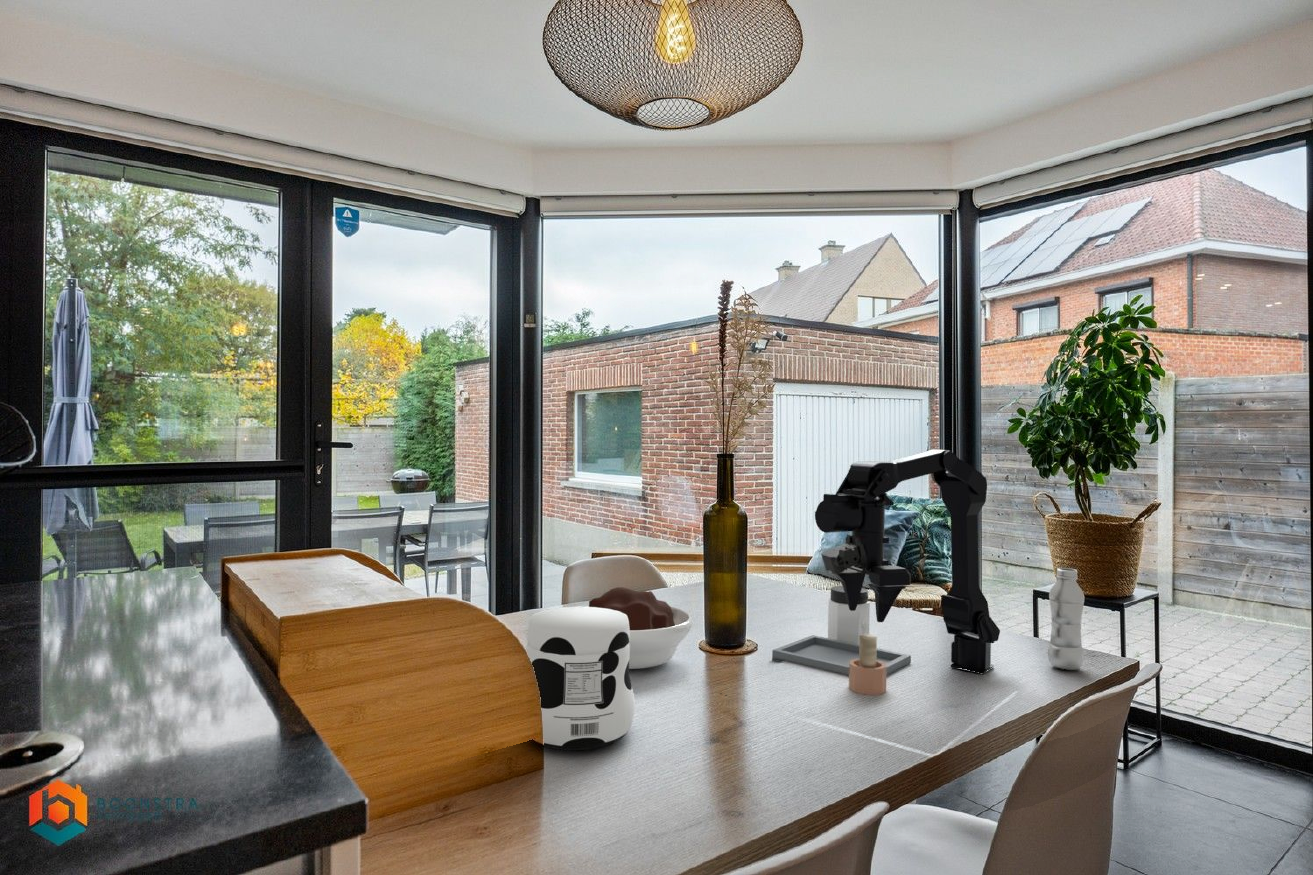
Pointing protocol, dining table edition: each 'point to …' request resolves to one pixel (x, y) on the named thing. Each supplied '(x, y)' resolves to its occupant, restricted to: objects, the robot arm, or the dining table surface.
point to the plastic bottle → (1066, 621)
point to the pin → (867, 650)
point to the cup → (867, 678)
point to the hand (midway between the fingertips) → (865, 616)
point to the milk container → (582, 675)
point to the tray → (833, 655)
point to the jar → (847, 616)
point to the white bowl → (647, 625)
